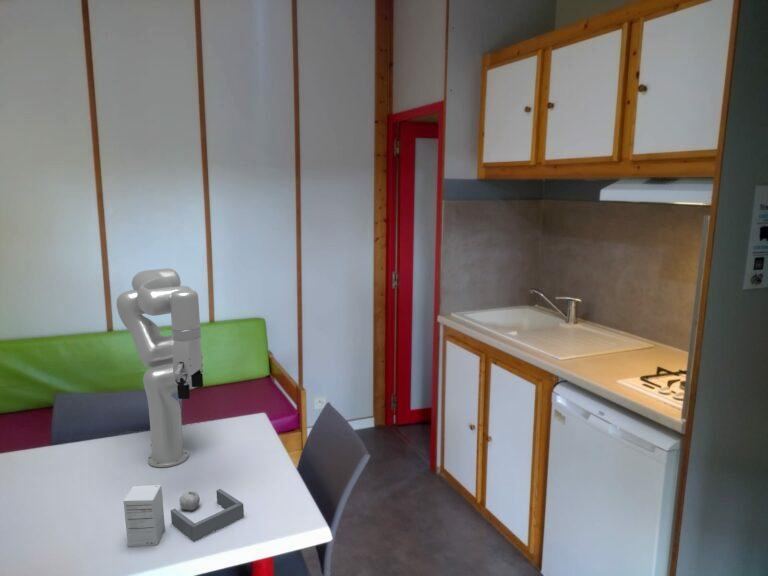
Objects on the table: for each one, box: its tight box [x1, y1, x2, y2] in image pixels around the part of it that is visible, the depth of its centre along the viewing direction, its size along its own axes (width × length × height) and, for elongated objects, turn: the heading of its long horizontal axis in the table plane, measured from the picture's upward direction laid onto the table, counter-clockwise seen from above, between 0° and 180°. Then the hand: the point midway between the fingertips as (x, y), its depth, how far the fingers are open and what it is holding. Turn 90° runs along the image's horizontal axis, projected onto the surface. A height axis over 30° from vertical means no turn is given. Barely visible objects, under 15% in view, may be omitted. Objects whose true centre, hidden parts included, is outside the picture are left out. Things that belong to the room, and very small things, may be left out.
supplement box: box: [123, 484, 166, 547], centre depth 147 cm, size 7×7×13 cm
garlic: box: [179, 490, 201, 511], centre depth 161 cm, size 6×5×5 cm
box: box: [170, 488, 245, 542], centre depth 155 cm, size 11×15×4 cm
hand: (191, 392), depth 165 cm, fingers open, 9 cm apart
